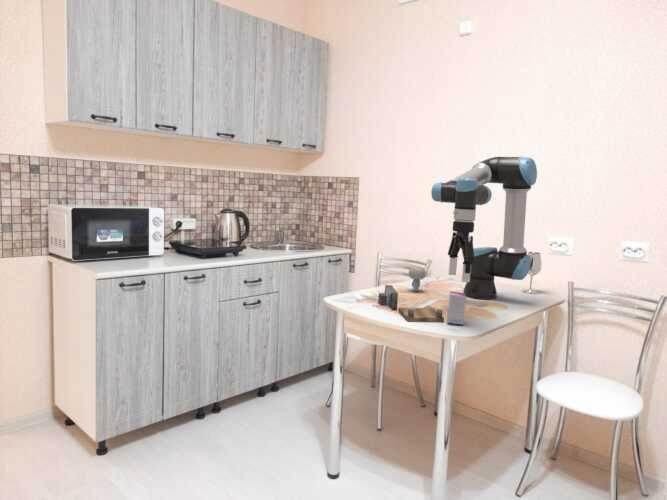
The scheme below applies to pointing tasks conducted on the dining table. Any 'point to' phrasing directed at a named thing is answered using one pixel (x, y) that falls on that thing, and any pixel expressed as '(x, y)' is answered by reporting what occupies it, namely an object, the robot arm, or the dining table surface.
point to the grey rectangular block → (389, 293)
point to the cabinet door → (417, 312)
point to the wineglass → (533, 269)
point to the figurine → (416, 276)
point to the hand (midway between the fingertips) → (458, 278)
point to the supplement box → (456, 308)
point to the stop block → (382, 299)
